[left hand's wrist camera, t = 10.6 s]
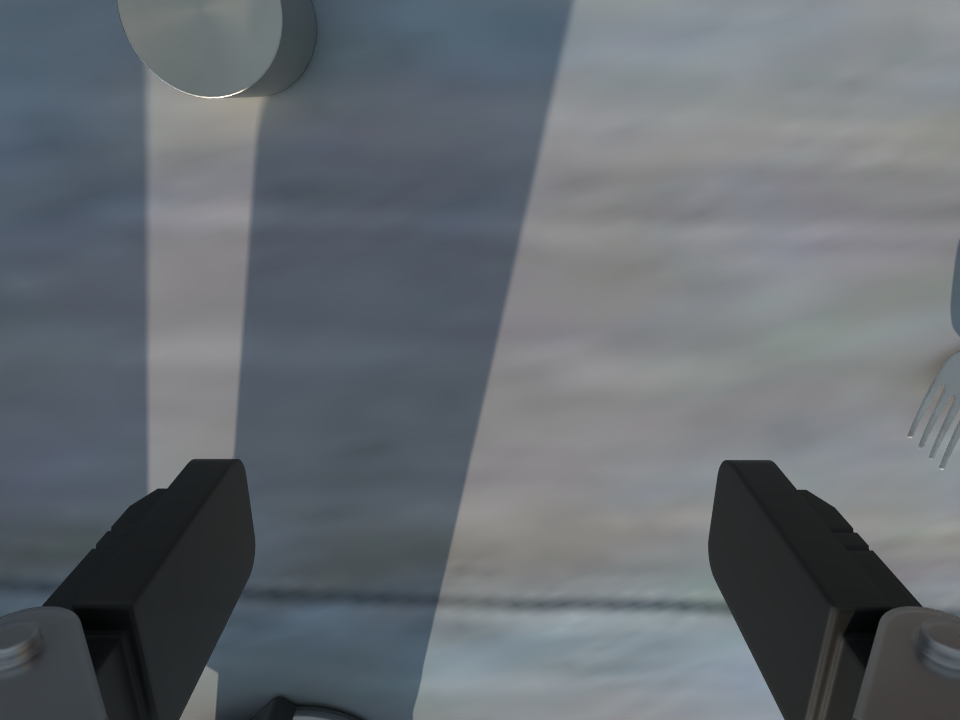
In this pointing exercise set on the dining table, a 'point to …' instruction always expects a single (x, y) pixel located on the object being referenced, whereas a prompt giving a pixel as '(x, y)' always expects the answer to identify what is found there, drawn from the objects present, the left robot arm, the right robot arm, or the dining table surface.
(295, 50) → the tin
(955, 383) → the fork
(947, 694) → the left robot arm
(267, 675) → the dining table surface
